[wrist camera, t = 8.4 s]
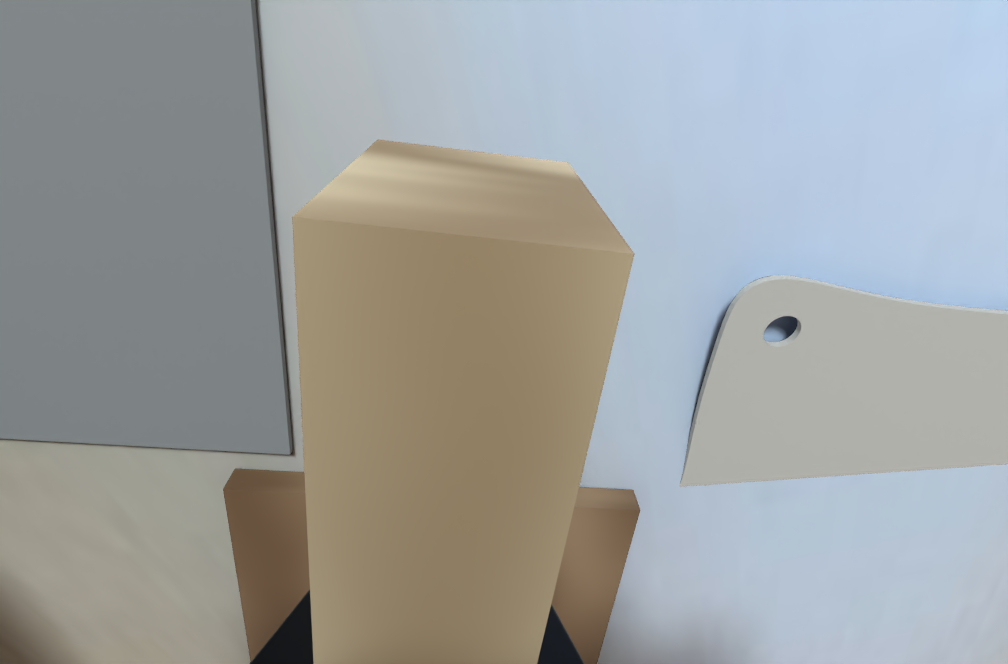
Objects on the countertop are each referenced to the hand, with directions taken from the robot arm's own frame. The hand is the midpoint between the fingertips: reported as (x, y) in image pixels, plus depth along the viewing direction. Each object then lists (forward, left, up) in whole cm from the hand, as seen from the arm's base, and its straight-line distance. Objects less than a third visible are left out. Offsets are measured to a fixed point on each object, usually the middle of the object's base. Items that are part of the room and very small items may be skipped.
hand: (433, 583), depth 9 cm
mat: (-10, +3, -9) cm, 14 cm away
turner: (0, -1, -1) cm, 2 cm away
